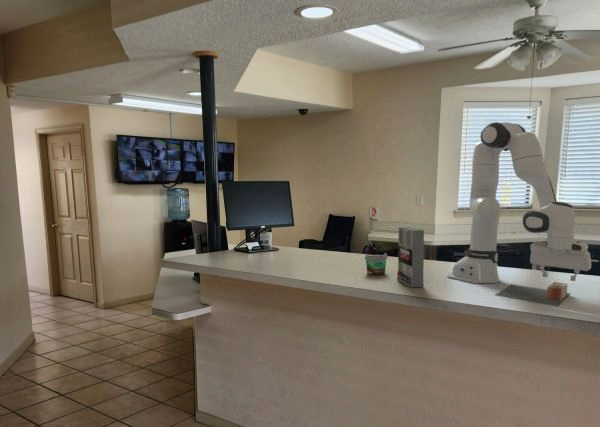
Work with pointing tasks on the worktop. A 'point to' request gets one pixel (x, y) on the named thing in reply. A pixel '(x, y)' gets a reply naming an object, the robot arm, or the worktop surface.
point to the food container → (376, 264)
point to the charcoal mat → (529, 295)
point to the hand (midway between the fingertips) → (558, 278)
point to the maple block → (557, 291)
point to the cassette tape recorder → (410, 256)
